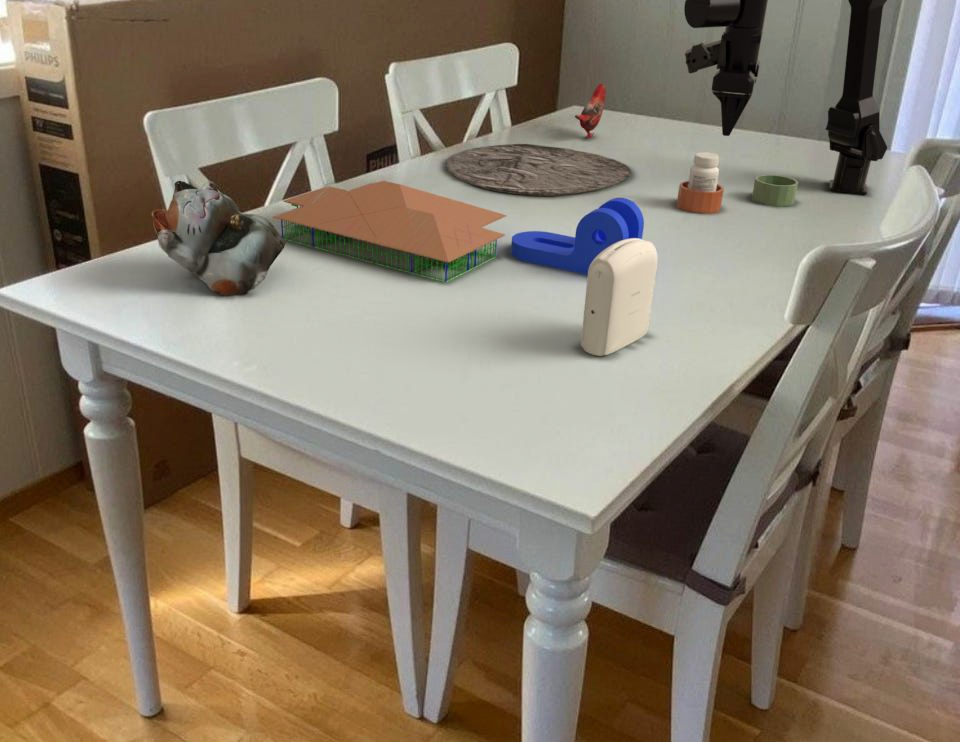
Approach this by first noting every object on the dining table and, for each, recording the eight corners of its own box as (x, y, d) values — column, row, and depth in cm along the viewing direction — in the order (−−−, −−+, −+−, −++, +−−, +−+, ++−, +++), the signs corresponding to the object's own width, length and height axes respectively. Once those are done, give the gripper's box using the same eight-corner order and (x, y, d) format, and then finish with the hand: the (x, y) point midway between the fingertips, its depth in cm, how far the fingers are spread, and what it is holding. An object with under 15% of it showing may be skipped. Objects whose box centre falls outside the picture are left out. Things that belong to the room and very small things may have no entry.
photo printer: (604, 360, 118) (617, 256, 111) (574, 349, 120) (585, 246, 114) (652, 336, 125) (666, 236, 118) (622, 326, 127) (635, 228, 120)
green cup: (752, 192, 183) (756, 172, 181) (794, 197, 181) (798, 177, 180) (750, 203, 177) (754, 182, 175) (793, 208, 175) (797, 187, 174)
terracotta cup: (679, 198, 177) (682, 178, 175) (721, 204, 176) (725, 183, 174) (674, 210, 171) (677, 189, 169) (718, 215, 170) (722, 194, 168)
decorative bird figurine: (606, 132, 218) (611, 83, 213) (578, 149, 205) (583, 96, 199) (593, 130, 219) (598, 81, 214) (565, 147, 205) (569, 94, 200)
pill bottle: (689, 200, 176) (697, 150, 172) (716, 204, 174) (725, 154, 170) (681, 206, 172) (689, 155, 168) (709, 211, 171) (717, 160, 166)
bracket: (638, 264, 147) (647, 202, 142) (618, 281, 140) (626, 216, 136) (525, 241, 153) (529, 180, 149) (501, 256, 147) (504, 193, 142)
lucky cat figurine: (246, 304, 127) (179, 207, 119) (183, 319, 134) (116, 229, 126) (304, 238, 136) (245, 144, 128) (242, 256, 143) (182, 167, 135)
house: (354, 201, 167) (354, 149, 163) (531, 242, 153) (535, 188, 149) (259, 235, 150) (255, 179, 146) (447, 285, 136) (449, 225, 132)
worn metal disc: (413, 178, 180) (413, 175, 180) (487, 139, 208) (487, 137, 207) (595, 206, 170) (595, 204, 170) (646, 161, 198) (647, 159, 198)
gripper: (698, 14, 169) (685, 113, 177) (686, 29, 153) (672, 136, 162) (767, 20, 166) (750, 119, 174) (761, 35, 151) (743, 144, 159)
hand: (728, 129), depth 167 cm, fingers open, 9 cm apart
